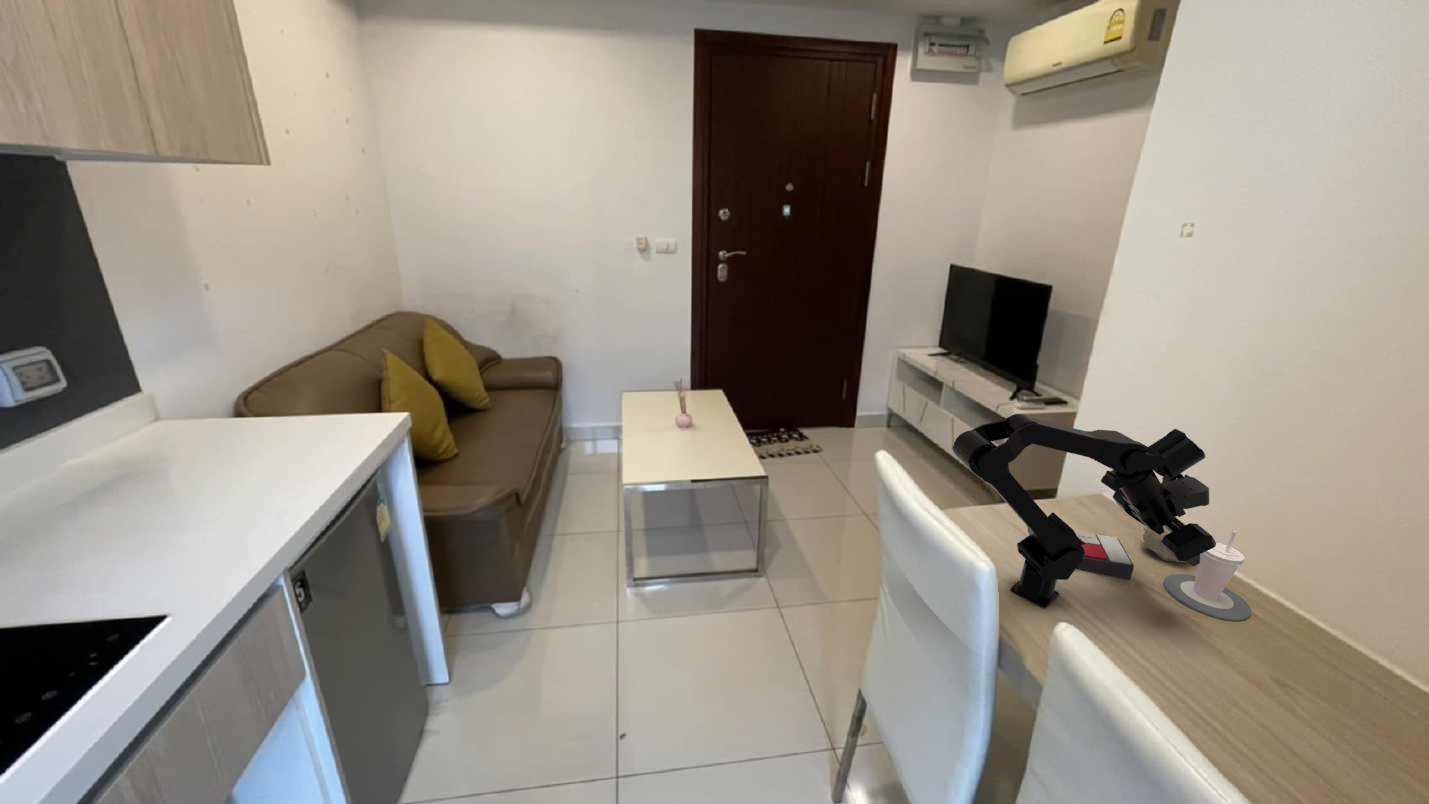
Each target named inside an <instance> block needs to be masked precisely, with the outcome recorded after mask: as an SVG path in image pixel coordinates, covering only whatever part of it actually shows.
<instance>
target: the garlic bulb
mask: <svg viewBox="0 0 1429 804" xmlns="http://www.w3.org/2000/svg"><path fill="white" fill-rule="evenodd" d="M1182 523H1183V524H1184V525H1187V524H1186V523H1184V522H1182ZM1173 524H1174V523H1173ZM1163 528H1164V533H1162V534H1160V535H1159V534H1157V533H1156V532H1154V531H1152V530H1151V529H1149V528H1148V527H1146V526H1144V527H1143V531H1144V533H1143V535H1142V541H1143V542H1144V546H1145V547H1146V549H1148V550H1150V551H1152V552H1154V553H1155V554H1156V556H1157V557H1158V558H1159V559H1162V560H1163V561H1165V560H1166V561H1165V562H1178V563H1185V562H1184V561H1178V560H1177V559H1176V558H1175V557H1174V556H1173V555H1172V554H1171V553H1169V552H1168V551H1167V550H1166V548H1165V547H1164V545H1163V544H1162V542H1161V541H1162V539H1163V537H1164V536H1165V535H1167V534H1169V533H1171V532H1170V531H1169V530H1168V529H1167V528H1166V527H1165V526H1163Z"/></svg>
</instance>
